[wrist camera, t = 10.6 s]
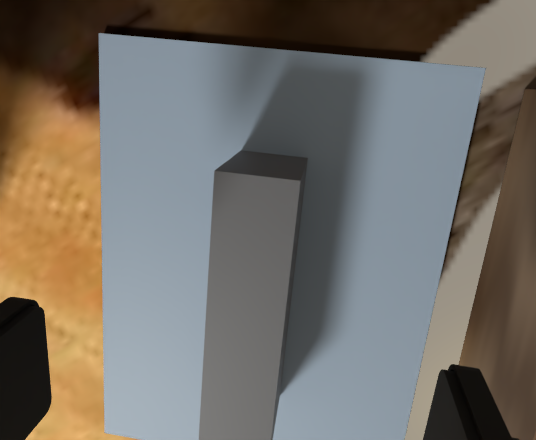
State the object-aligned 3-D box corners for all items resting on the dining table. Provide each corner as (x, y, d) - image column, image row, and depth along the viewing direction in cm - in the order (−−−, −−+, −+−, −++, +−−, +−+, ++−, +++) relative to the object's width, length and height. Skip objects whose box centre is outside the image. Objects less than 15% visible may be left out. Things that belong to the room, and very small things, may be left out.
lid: (111, 35, 17) (27, 18, 12) (476, 68, 16) (538, 63, 11) (114, 417, 22) (54, 509, 17) (391, 466, 21) (409, 579, 16)
